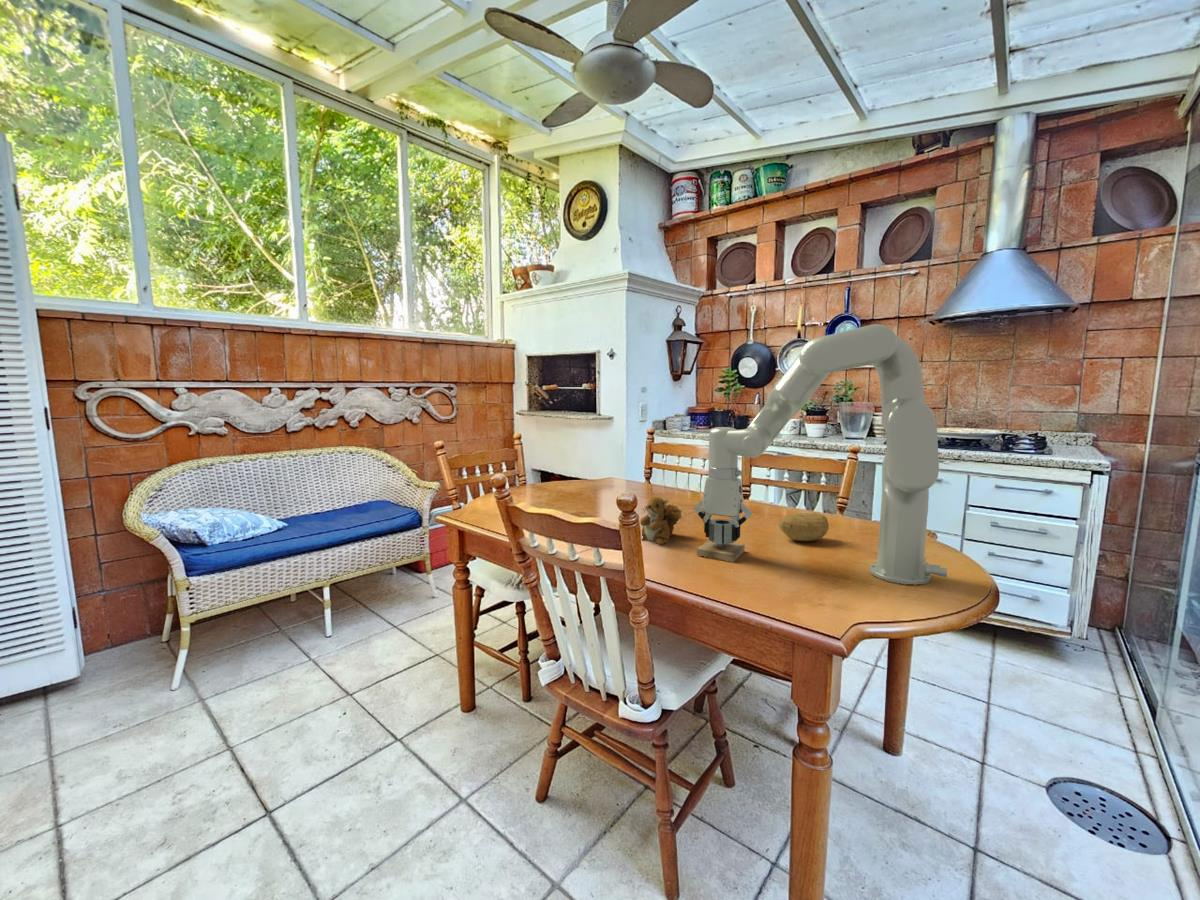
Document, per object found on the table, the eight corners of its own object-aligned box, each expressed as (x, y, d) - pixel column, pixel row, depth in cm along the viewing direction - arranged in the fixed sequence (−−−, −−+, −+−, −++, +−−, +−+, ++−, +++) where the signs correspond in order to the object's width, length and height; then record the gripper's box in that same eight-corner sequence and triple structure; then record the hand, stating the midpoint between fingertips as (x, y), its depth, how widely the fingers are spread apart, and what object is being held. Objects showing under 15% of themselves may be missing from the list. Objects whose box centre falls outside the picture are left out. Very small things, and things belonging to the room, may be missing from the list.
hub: (738, 538, 140) (738, 520, 140) (730, 545, 135) (730, 526, 134) (714, 534, 144) (714, 517, 143) (705, 541, 138) (705, 523, 137)
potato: (773, 535, 155) (774, 510, 154) (820, 535, 155) (821, 509, 154) (783, 545, 146) (784, 518, 145) (834, 545, 145) (835, 518, 144)
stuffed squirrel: (631, 539, 153) (630, 496, 151) (660, 529, 163) (661, 489, 161) (656, 547, 146) (657, 502, 144) (686, 536, 156) (687, 494, 154)
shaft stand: (744, 551, 141) (745, 525, 140) (733, 562, 133) (734, 534, 132) (709, 545, 147) (710, 520, 146) (696, 555, 138) (697, 528, 137)
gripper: (759, 473, 135) (757, 539, 138) (697, 468, 144) (696, 530, 147) (751, 478, 129) (750, 546, 131) (687, 473, 138) (686, 537, 140)
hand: (721, 537), depth 139 cm, fingers closed on hub, 6 cm apart
